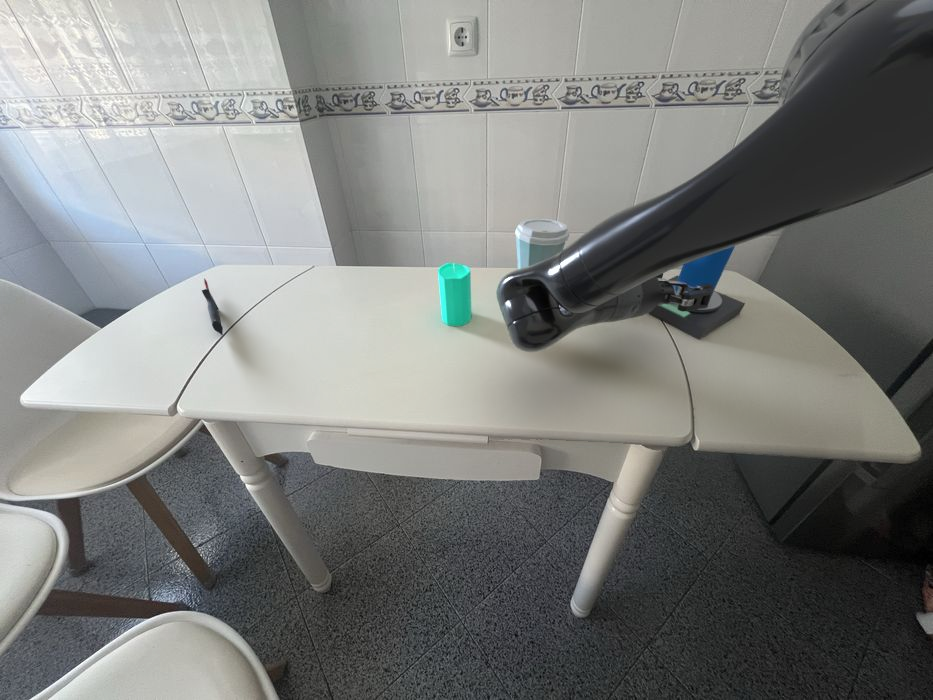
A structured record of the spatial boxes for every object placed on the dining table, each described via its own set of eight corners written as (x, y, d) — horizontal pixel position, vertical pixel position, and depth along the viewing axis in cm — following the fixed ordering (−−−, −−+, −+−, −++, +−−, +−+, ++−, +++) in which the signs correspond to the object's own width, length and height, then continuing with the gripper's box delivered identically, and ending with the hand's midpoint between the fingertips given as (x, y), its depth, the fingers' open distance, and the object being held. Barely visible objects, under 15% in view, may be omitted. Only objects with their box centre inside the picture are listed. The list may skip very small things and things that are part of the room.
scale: (699, 339, 66) (705, 327, 64) (633, 305, 75) (636, 294, 73) (739, 314, 71) (745, 302, 70) (673, 285, 80) (677, 274, 79)
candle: (437, 313, 74) (432, 259, 66) (463, 306, 76) (461, 252, 68) (448, 329, 70) (444, 273, 62) (476, 321, 72) (475, 265, 64)
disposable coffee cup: (511, 277, 85) (515, 213, 75) (557, 278, 84) (568, 213, 74) (511, 301, 77) (515, 232, 67) (562, 303, 76) (574, 233, 66)
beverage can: (706, 307, 67) (735, 245, 59) (669, 296, 70) (692, 236, 63) (713, 292, 71) (741, 232, 63) (677, 283, 74) (700, 225, 66)
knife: (227, 336, 70) (215, 314, 67) (219, 339, 69) (206, 317, 66) (213, 286, 85) (202, 267, 82) (206, 288, 85) (195, 269, 81)
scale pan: (700, 283, 75) (702, 280, 75) (732, 311, 67) (734, 307, 67) (652, 286, 75) (653, 282, 75) (677, 314, 67) (679, 310, 67)
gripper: (670, 282, 46) (737, 271, 54) (586, 259, 57) (651, 252, 65) (654, 335, 49) (719, 318, 57) (578, 304, 60) (640, 293, 68)
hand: (683, 283), depth 61 cm, fingers open, 8 cm apart
